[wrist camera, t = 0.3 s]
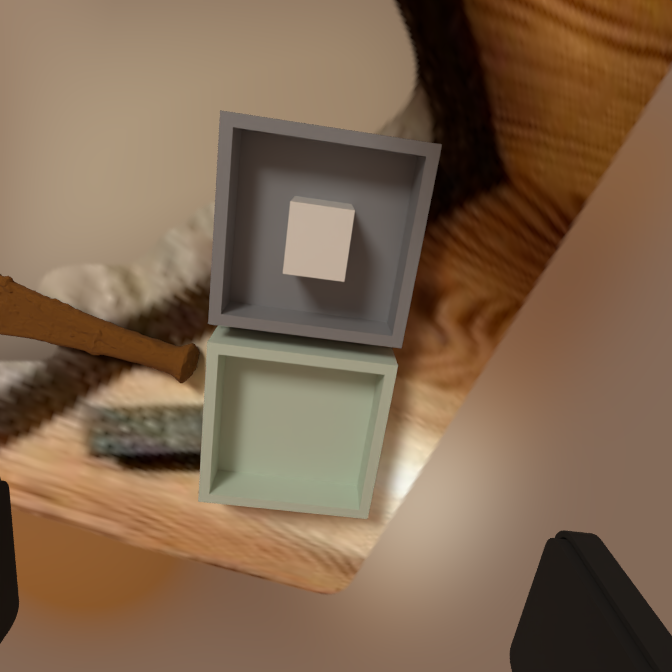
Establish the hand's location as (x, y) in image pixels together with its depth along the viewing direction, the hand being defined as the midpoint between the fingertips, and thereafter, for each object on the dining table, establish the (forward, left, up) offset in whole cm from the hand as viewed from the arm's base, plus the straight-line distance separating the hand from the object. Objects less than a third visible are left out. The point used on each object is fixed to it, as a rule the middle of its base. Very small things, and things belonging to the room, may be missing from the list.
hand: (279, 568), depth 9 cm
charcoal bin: (-1, 0, -34) cm, 34 cm away
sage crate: (+15, 0, -34) cm, 37 cm away
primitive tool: (+10, -19, -34) cm, 40 cm away
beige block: (-1, 0, -33) cm, 33 cm away
